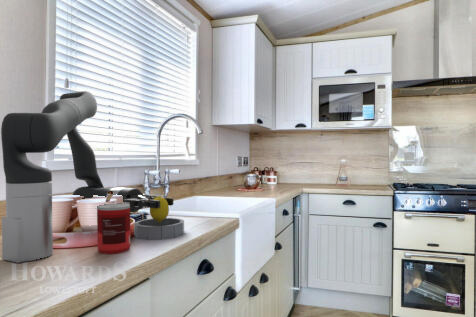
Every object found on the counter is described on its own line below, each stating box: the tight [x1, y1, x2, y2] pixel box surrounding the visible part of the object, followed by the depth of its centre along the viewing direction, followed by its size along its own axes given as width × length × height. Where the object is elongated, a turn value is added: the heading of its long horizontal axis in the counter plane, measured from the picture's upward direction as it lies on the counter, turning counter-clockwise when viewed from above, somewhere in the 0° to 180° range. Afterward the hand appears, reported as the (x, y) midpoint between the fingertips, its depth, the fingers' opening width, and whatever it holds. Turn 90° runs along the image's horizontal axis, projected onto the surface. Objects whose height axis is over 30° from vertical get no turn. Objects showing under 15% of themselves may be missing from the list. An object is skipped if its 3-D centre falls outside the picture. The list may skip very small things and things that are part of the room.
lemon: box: [149, 196, 170, 223], centre depth 105 cm, size 6×6×8 cm
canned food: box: [96, 203, 131, 255], centre depth 87 cm, size 8×8×11 cm
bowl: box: [133, 217, 185, 240], centre depth 105 cm, size 14×14×4 cm
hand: (166, 203), depth 104 cm, fingers closed on lemon, 5 cm apart
